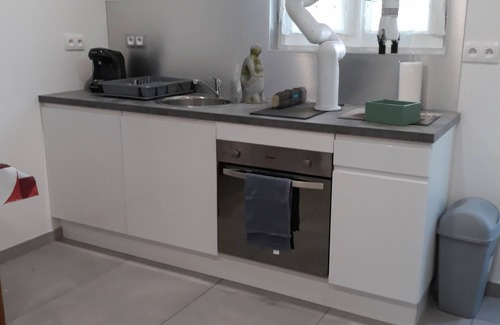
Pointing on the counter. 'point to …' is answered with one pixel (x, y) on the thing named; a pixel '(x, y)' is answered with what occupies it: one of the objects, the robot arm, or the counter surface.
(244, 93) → the sculpture
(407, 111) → the bin
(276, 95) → the dark brown log
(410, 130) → the counter surface
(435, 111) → the counter surface
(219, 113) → the counter surface
